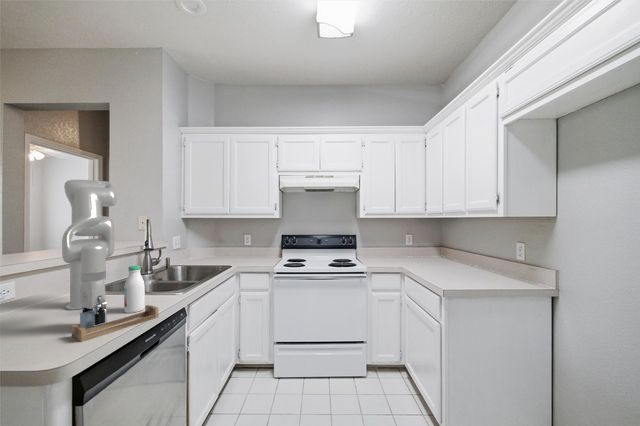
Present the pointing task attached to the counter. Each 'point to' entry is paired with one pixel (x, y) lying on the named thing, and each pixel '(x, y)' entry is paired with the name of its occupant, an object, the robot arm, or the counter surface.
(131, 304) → the milk bottle
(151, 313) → the bottom track
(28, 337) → the counter surface
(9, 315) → the counter surface
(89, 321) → the pale blue upright box
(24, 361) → the counter surface
